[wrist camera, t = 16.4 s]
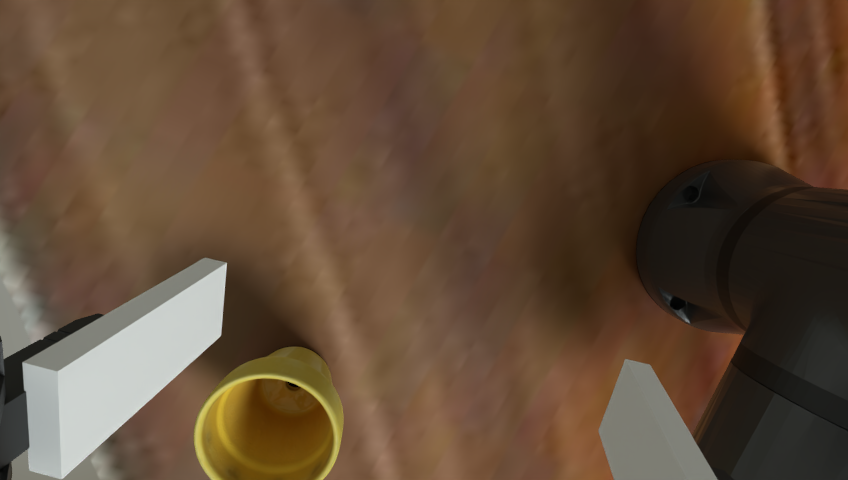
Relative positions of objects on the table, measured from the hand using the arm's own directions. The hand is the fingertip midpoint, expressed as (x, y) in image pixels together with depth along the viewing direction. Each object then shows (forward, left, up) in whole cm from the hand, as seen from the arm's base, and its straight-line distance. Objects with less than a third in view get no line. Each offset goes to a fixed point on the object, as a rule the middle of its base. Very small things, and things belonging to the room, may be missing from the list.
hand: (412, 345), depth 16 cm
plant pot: (+10, +14, -27) cm, 32 cm away
